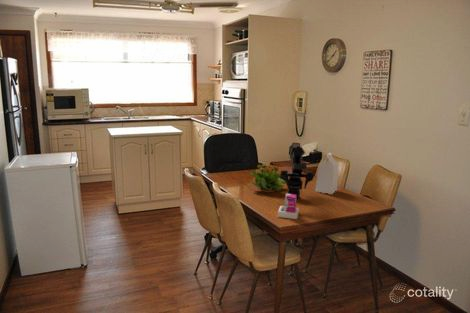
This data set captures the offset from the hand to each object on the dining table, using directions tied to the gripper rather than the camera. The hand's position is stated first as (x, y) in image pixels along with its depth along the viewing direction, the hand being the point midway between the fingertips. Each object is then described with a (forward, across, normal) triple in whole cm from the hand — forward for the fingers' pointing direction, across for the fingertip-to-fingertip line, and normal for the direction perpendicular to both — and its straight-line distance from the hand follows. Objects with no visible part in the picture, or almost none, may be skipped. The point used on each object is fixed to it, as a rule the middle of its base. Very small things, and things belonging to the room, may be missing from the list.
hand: (296, 188), depth 209 cm
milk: (-21, +23, +39) cm, 50 cm away
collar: (+16, -4, +2) cm, 17 cm away
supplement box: (+16, -4, +2) cm, 17 cm away
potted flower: (-16, -17, +34) cm, 41 cm away
